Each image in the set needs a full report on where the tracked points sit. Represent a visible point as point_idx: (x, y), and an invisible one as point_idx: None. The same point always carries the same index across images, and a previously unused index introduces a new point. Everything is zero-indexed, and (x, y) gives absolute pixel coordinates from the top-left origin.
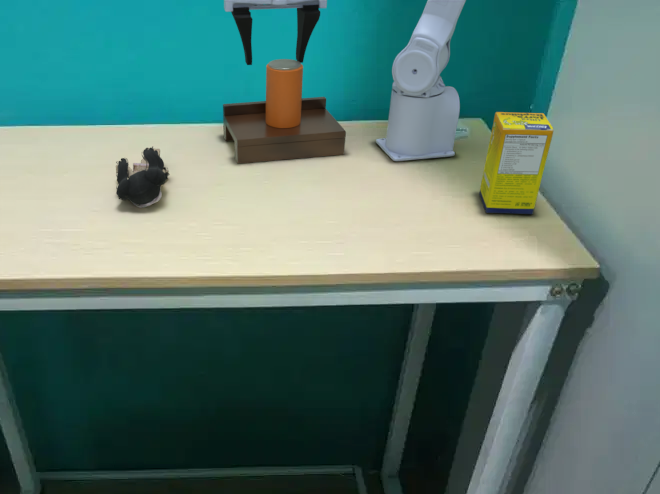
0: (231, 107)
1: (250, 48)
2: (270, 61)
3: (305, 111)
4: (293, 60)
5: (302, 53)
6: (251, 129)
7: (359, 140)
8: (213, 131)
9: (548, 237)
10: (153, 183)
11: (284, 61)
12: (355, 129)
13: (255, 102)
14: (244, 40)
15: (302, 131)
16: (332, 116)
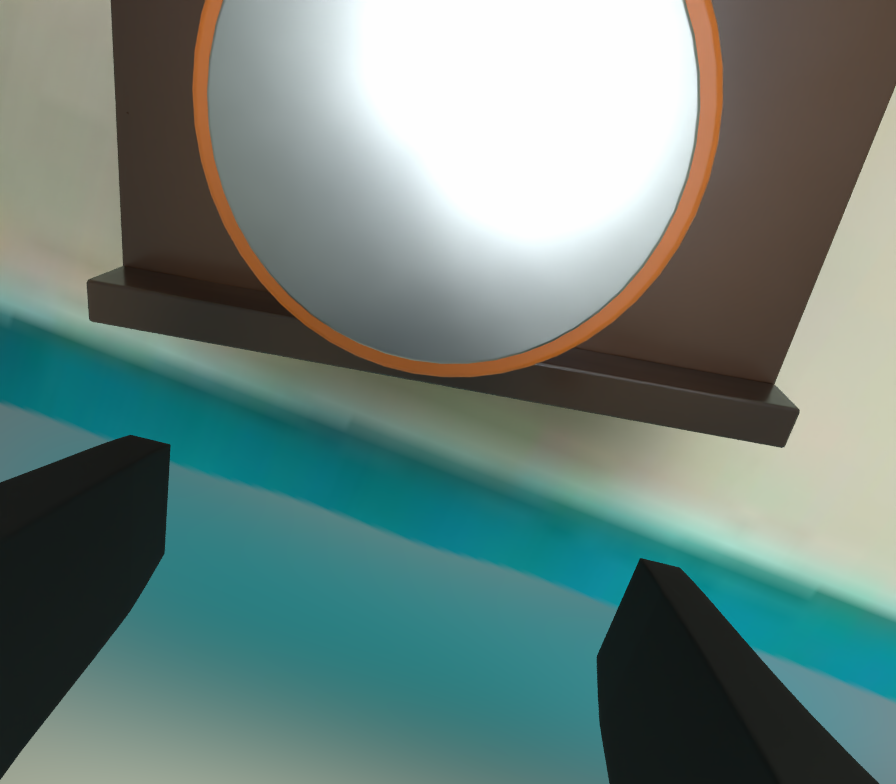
0: (746, 394)
1: (727, 668)
2: (589, 316)
3: None
4: (273, 232)
5: (81, 463)
6: (754, 66)
7: (33, 20)
8: (724, 451)
9: None
10: None
11: (407, 243)
12: (19, 195)
13: (571, 393)
14: (866, 782)
15: None
16: (117, 100)
